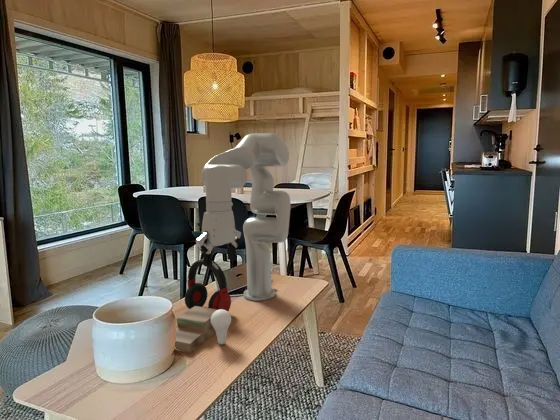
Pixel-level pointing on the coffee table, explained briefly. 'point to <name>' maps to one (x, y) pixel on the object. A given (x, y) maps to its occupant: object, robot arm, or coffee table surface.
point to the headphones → (198, 291)
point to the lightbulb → (221, 324)
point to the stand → (193, 328)
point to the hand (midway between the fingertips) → (220, 263)
